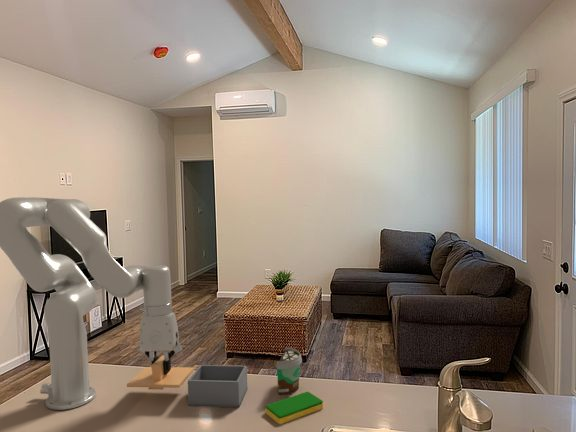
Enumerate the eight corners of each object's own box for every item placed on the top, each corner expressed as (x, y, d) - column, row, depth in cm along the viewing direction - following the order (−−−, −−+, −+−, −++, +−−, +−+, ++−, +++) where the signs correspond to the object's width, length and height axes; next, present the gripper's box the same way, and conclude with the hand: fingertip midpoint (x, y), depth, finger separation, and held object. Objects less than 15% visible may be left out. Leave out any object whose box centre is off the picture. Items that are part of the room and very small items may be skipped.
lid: (127, 391, 118) (125, 368, 117) (146, 373, 130) (145, 352, 129) (179, 392, 116) (178, 368, 116) (194, 374, 128) (193, 352, 128)
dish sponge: (323, 409, 114) (323, 400, 113) (279, 426, 106) (279, 416, 106) (307, 399, 119) (307, 390, 119) (265, 414, 112) (264, 405, 112)
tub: (188, 406, 116) (187, 380, 116) (201, 387, 127) (200, 364, 127) (239, 407, 115) (238, 382, 115) (247, 389, 126) (246, 365, 125)
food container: (298, 398, 119) (297, 363, 119) (277, 397, 120) (276, 362, 120) (305, 379, 131) (305, 347, 131) (286, 378, 132) (285, 346, 132)
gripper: (125, 313, 119) (128, 378, 120) (180, 312, 117) (184, 378, 118) (137, 306, 127) (140, 367, 127) (190, 305, 125) (193, 367, 126)
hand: (161, 372), depth 123 cm, fingers closed on lid
